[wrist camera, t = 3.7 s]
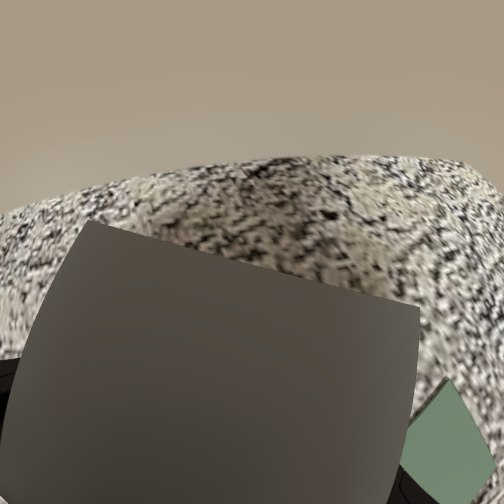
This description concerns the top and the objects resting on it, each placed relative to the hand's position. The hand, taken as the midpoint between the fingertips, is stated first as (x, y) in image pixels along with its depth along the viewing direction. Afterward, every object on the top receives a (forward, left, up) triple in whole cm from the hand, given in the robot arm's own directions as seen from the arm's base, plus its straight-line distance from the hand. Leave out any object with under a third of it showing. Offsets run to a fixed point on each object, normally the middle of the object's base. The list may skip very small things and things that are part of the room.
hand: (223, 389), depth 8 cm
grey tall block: (-1, -1, -6) cm, 6 cm away
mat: (+6, -15, -7) cm, 18 cm away
